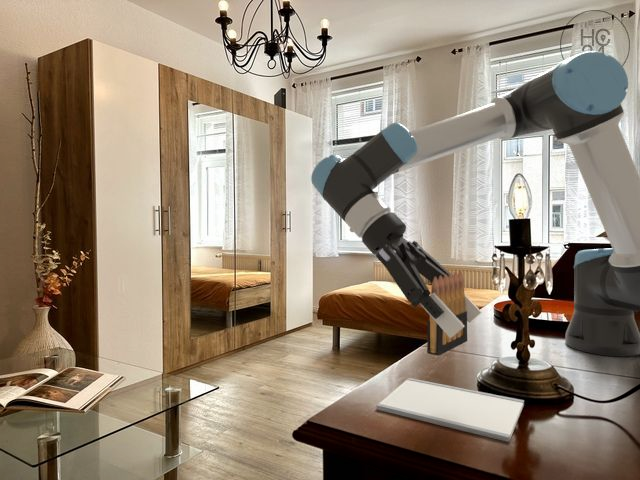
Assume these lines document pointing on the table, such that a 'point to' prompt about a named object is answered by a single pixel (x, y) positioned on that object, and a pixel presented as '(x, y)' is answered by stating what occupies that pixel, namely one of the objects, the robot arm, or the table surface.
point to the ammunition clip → (454, 299)
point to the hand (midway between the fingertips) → (467, 324)
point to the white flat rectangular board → (455, 408)
